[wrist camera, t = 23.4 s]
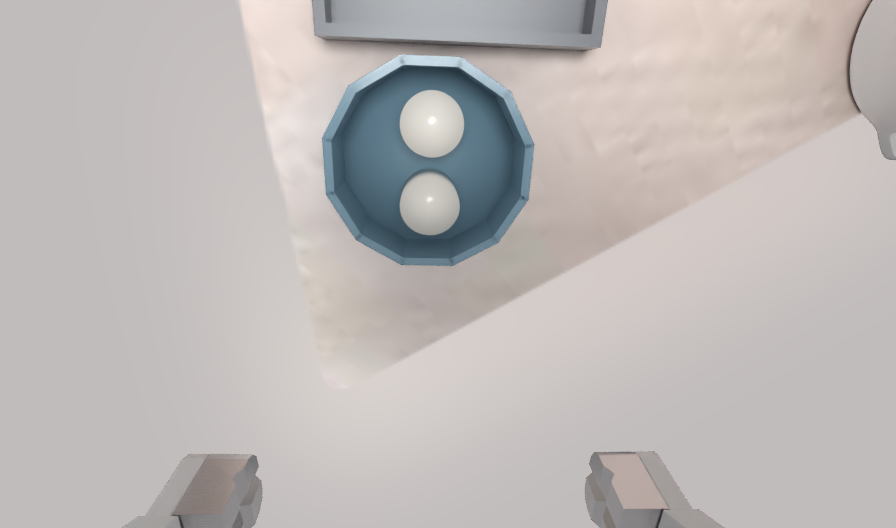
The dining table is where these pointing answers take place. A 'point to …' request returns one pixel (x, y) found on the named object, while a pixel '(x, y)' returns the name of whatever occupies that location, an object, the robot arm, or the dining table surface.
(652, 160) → the dining table surface
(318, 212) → the dining table surface
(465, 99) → the bowl
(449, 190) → the stone
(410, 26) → the tray
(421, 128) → the stone
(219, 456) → the robot arm
